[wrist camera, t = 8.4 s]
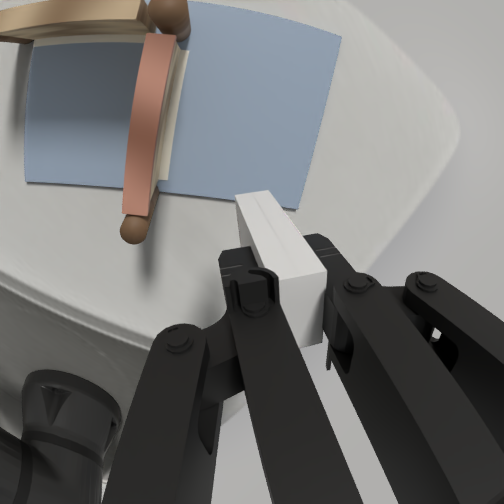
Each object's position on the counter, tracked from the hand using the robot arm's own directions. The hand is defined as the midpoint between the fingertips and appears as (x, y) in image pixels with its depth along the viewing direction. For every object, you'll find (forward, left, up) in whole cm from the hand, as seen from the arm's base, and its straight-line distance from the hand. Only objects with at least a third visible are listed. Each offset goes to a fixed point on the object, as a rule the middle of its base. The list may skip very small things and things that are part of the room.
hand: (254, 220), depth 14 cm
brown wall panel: (-2, +15, -11) cm, 19 cm away
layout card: (-1, +7, -11) cm, 13 cm away
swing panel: (-3, +6, -10) cm, 12 cm away
